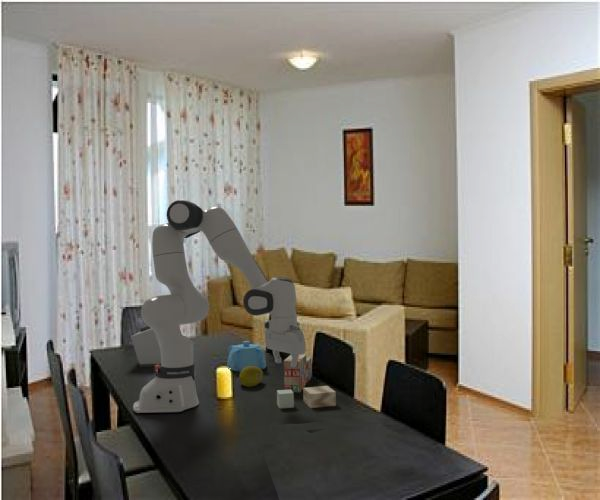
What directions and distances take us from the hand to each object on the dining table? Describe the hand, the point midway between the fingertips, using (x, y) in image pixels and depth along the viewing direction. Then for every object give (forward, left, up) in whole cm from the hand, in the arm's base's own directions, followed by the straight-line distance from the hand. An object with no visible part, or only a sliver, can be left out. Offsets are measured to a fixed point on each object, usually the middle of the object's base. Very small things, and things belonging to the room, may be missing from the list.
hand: (285, 364), depth 210 cm
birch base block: (+12, 0, -14) cm, 19 cm away
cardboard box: (+10, +27, -15) cm, 32 cm away
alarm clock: (-46, +77, -15) cm, 91 cm away
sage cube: (0, 0, -14) cm, 14 cm away
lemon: (-8, +30, -14) cm, 34 cm away
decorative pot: (-7, +55, -14) cm, 57 cm away
